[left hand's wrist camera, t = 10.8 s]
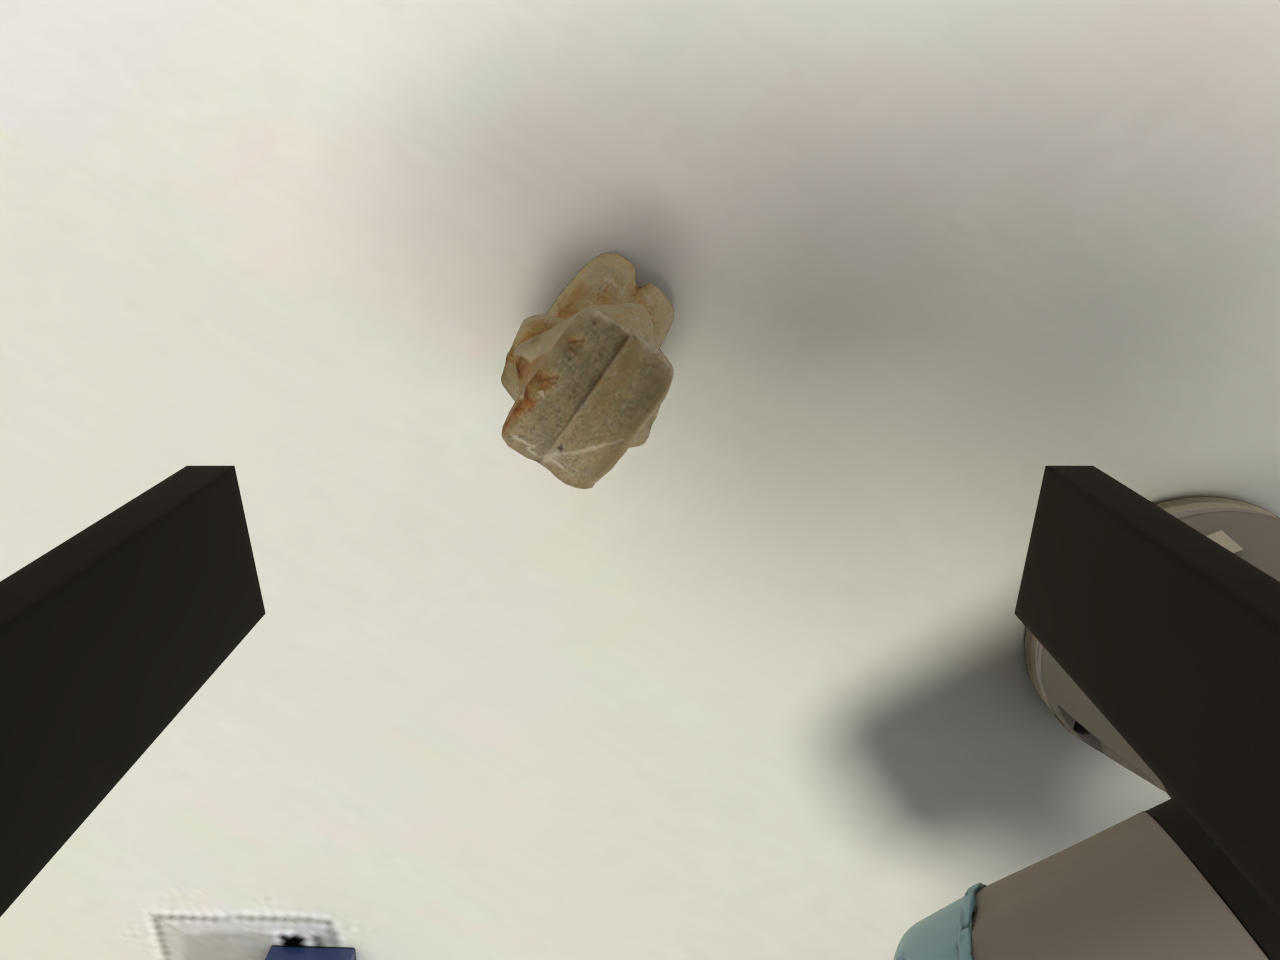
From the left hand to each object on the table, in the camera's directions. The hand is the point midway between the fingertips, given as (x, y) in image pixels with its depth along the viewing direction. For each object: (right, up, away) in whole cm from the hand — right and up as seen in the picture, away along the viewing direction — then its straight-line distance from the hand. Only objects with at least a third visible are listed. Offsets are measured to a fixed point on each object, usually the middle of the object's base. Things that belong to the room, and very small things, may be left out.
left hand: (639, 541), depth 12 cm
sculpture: (-2, +8, +23) cm, 24 cm away
